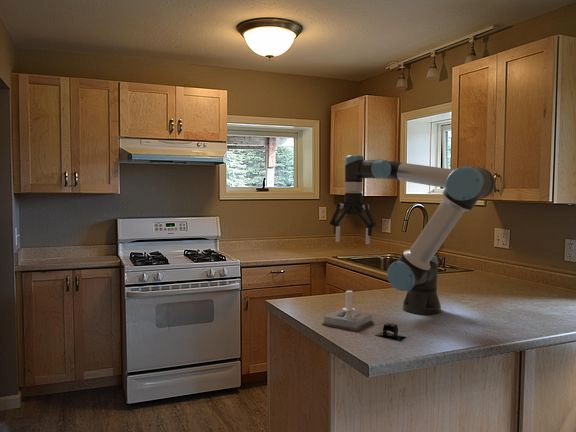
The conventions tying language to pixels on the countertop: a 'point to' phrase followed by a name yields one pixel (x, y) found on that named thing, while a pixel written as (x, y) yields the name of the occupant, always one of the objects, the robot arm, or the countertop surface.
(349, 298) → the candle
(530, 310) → the countertop surface
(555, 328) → the countertop surface
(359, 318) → the block
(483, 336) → the countertop surface
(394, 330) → the black bracket mount
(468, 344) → the countertop surface
